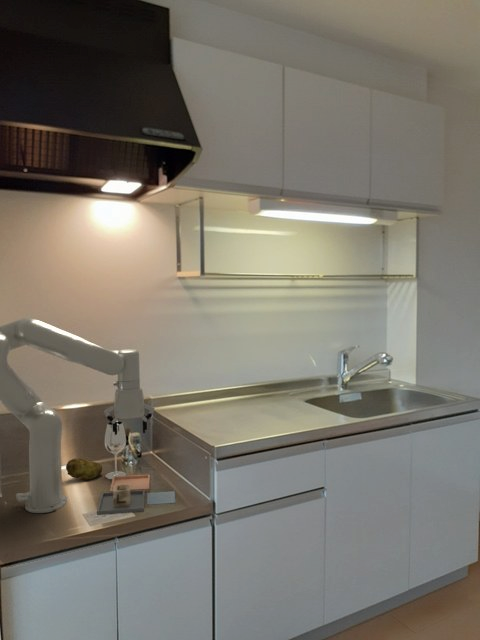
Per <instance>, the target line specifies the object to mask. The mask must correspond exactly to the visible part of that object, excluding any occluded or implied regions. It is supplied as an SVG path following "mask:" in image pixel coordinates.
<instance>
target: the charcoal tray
mask: <svg viewBox="0 0 480 640" xmlns="http://www.w3.org/2000/svg"><path fill="white" fill-rule="evenodd" d="M145 495H146V492H145V490H137V491H130V506H121V507H113V492H110V491H109V492H108V491H107V492H101V495H100V499H99V503H98V507H97V511H96V514H97V515H109V514H111V515H112V514H123V513H125V514H126V513H137V512H139V513H140V512H144V510H145Z"/></svg>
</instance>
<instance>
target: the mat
mask: <svg viewBox="0 0 480 640" xmlns="http://www.w3.org/2000/svg"><path fill="white" fill-rule="evenodd" d="M146 497H147V498H146V499H147V503H146V504H147V506H150V505H164V504H165V505H166V504H176V493H175V491H174V490H173V491H161V492H159V491H158V492H147V496H146Z"/></svg>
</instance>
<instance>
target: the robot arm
mask: <svg viewBox="0 0 480 640" xmlns="http://www.w3.org/2000/svg"><path fill="white" fill-rule="evenodd" d="M25 345H26V346H28V347H31V348H33V349H36V350H37V351H41V352H44V353H46V354H49V355H52V356H54V357H57V358H59V359H62V360H64V361H68V362H71V363H75V364H79V365H81V366H85V367H86V368H90V369H92V370H95V371H97V372H101V373H103V374H106V375H108V376H116V375H117V381H113V387H117V388H116V389H115V393H114V400H113V401H114V402H113V403H114V405H111V406H110V407H108V408H106V409H105V410H104V411H103V414H104V415H105V417H106V419H107V420H108V421H109V422H112V424H113V432H115V435H116V434H117V422H116V421H119V419H120V420H121V419H136V418H137V419H139V418H141V419H142V433H143V434H145V433H146V431H147V430H148V420H150V418H152V416H153V414H154V412H155V407H154V406H152V405H149V404H147V403H145V399H144V392H143V388H142V387H141V381H140V379H141V378H140V376H141V373H140V372H141V371H140V352H139V350H137V349H134V348H125V349H120V350H111V349H107V348H105V347H102V346H100V345H97V344H95V343H92V342H90V341H88V340H86V339H85V338H82V337H80V336H77V335H76V334H74V333H71V332H68V331H66V330H64V329H61V328H58V327H56V326H53V325H51V324H49V323H46V322H44V321H41V320H39V319H35V318H30V317H25V318H21V319H18V320H14V321H12V322H8V323H6V324H3V325H0V402H1V404H2V405H3V406H4V407H5V409H7V411H9V412H11V414H12V415H14V417H15V418H16V419H18V421H20V422H21V423H22V424H23V425H24V426H25V428H27V430H28V431H29V445H28V460H29V461H28V463H29V464H28V466H29V491H27V492H20V493H18V492H17V493H16V495H15V496H16V497H15V498H16V500H17V502H18V503H21V502H25V506H24V509H25V510H26V511H27V512H29V513H33V514H46V513H52V512H55V511H57V510H58V509H61V508H63V507H64V506H65V505H67V503H68V497H67V496H65V495H64V494H63V487H62V486H63V482H62V480H63V479H62V434H63V421H62V418H61V416H60V414H59V412H58V411H56V410H55V409H54V408H52V407H51V406H50V405H49V404H48V403H46V401H44V399H43V398H42V397H41V396H40V395H39V394H38V393H37V392H35V389H34V388H33V387H32V386H31V385H30V384H28V383H27V382H25V381H24V380H23V379H22V378H21V377H20V376H19V375H18V374H17V373H16V372H15V370H14V369H13V368H12V367H11V366H10V364H9V363H8V357H9V356H8V355H9V353H10V351H12V350H16V349H18V348H21V347H25ZM145 409H146V410H149V412H148V413H147V414H145ZM112 411H114V416H112V415H111V414H110V413H111V412H112Z"/></svg>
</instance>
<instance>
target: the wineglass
mask: <svg viewBox="0 0 480 640" xmlns="http://www.w3.org/2000/svg"><path fill="white" fill-rule="evenodd" d="M116 422H117V434H116V435H115V432H113V424H112V422H111V421H109V422H107V424H106V429H105V434H104V447H105V449H106V450H107V452H108V453H111V454H113V456H114V457H113V458H114V471H111V472H108V473H106V475H105V478H106V479H107V480H111V481H112V480H113V477H115V476H127V473H126V472H124V471H118V469H117V468H118V467H117V465H118V463H117V462H118V461H117V460H118V459H117V457H118V454H119V453H121V452H123V450H124V449H125V447H126V445H127V436H126V431H125V427H124V423H123V421H119V420H117V421H116Z"/></svg>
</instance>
